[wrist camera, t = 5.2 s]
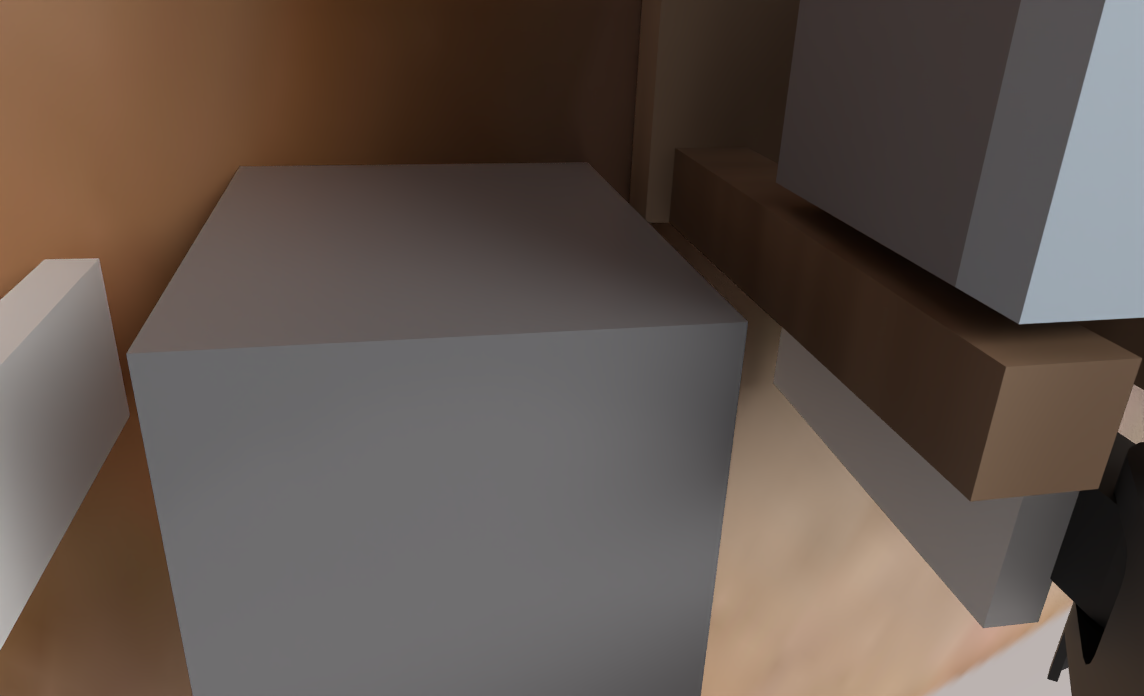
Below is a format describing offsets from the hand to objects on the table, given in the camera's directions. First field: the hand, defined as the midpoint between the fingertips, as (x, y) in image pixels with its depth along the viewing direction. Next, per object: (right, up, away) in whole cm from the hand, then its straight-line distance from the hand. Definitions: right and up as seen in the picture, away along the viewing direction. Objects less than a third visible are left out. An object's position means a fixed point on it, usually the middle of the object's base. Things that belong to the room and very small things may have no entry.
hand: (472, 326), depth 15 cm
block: (-1, 0, 0) cm, 1 cm away
